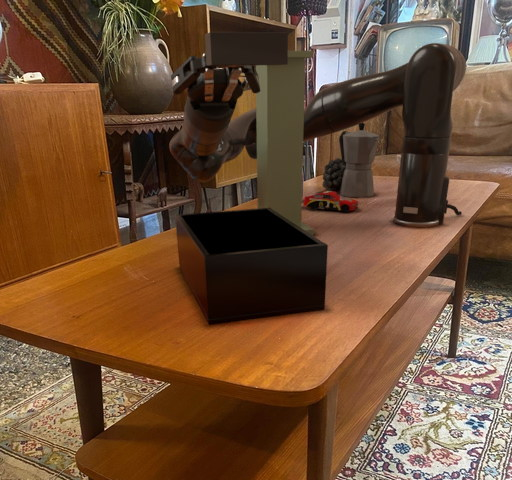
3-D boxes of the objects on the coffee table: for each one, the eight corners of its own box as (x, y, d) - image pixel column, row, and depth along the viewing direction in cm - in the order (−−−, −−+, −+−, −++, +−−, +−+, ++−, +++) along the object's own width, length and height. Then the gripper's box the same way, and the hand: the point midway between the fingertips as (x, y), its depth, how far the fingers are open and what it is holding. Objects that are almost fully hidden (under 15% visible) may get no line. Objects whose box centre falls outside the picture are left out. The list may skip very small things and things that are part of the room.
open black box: (179, 268, 85) (175, 214, 81) (270, 259, 88) (270, 207, 85) (208, 325, 64) (204, 257, 60) (324, 310, 68) (328, 245, 64)
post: (245, 226, 109) (242, 54, 95) (294, 222, 112) (298, 54, 98) (261, 240, 100) (259, 50, 86) (314, 235, 102) (320, 50, 88)
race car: (360, 209, 123) (362, 192, 122) (354, 214, 119) (355, 196, 117) (309, 204, 129) (309, 188, 127) (300, 209, 124) (301, 192, 123)
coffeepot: (386, 196, 136) (393, 123, 128) (357, 200, 132) (363, 124, 125) (350, 188, 149) (355, 120, 141) (323, 191, 145) (326, 121, 137)
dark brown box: (188, 68, 71) (186, 42, 70) (250, 68, 74) (250, 42, 72) (211, 65, 58) (210, 31, 56) (287, 64, 60) (288, 32, 58)
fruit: (335, 160, 134) (352, 152, 146) (307, 169, 139) (325, 161, 151) (344, 193, 137) (359, 182, 149) (315, 200, 141) (333, 190, 153)
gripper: (253, 132, 85) (283, 71, 68) (168, 135, 81) (178, 72, 65) (246, 88, 85) (275, 16, 68) (161, 89, 82) (170, 14, 65)
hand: (228, 44), depth 67 cm, fingers closed on dark brown box, 2 cm apart
